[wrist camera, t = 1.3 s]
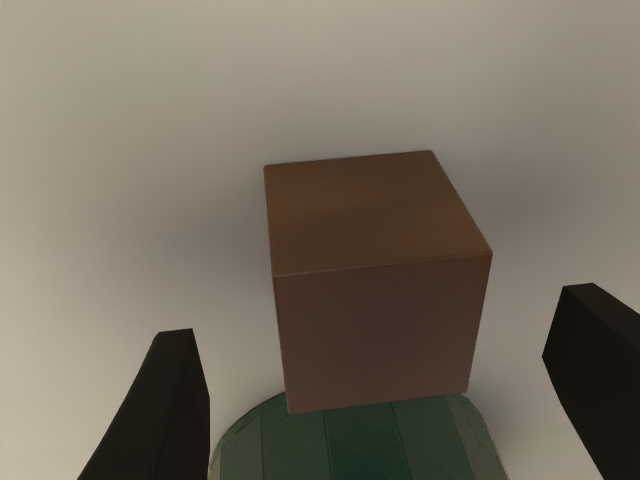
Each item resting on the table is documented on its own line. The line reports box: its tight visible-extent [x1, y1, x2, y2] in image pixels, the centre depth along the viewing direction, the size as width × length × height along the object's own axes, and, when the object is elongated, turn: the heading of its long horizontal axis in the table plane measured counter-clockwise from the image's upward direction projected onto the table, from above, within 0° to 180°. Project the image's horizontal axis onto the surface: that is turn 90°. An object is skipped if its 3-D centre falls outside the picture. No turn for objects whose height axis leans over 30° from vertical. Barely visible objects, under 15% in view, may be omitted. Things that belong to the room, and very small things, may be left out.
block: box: [264, 151, 493, 414], centre depth 13 cm, size 4×4×4 cm
